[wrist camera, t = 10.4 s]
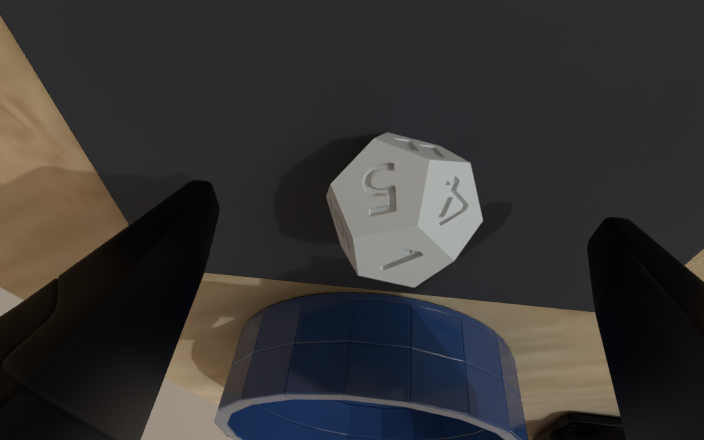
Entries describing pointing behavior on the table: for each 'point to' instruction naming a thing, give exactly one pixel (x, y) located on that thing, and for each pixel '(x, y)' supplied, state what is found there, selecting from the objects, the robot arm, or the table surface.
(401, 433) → the blue bowl
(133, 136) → the cloth
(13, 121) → the table surface
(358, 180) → the game die
